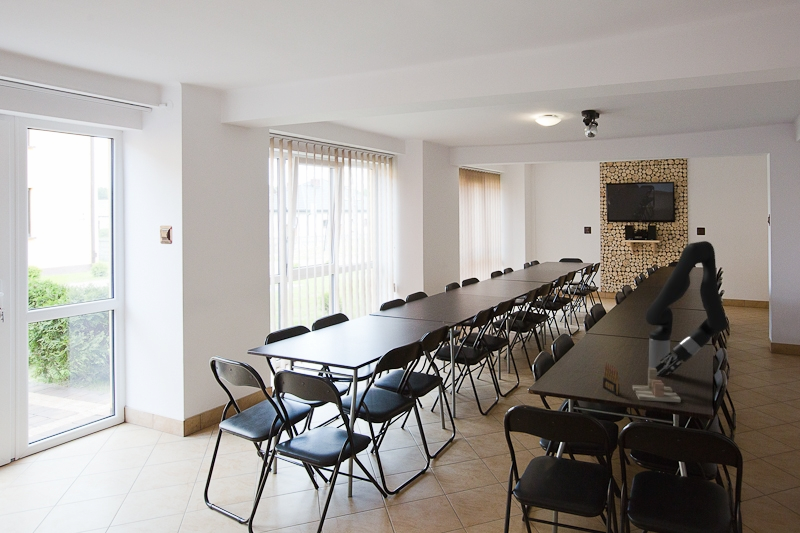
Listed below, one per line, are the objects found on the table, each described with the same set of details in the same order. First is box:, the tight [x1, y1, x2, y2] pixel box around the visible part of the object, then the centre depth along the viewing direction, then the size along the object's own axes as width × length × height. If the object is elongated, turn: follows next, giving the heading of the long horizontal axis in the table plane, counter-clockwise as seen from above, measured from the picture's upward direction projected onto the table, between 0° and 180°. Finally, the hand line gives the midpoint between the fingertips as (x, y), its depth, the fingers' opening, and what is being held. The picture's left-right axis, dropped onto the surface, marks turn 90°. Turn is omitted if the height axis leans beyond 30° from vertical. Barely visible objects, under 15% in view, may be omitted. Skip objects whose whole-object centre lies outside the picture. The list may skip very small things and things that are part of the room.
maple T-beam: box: [631, 367, 674, 393], centre depth 245 cm, size 4×16×10 cm, turn 77°
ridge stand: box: [635, 379, 682, 403], centre depth 234 cm, size 8×16×7 cm, turn 77°
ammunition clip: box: [602, 362, 620, 396], centre depth 244 cm, size 11×2×12 cm, turn 9°
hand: (657, 373), depth 244 cm, fingers open, 8 cm apart
